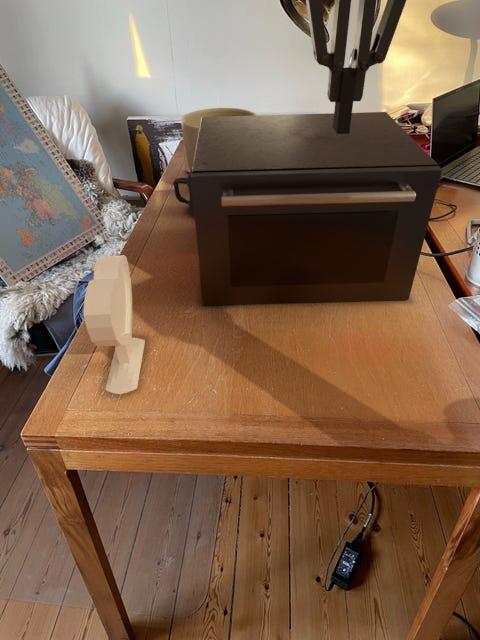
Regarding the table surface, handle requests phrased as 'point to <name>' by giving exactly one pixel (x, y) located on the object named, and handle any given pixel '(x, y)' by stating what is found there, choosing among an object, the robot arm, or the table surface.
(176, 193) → the mug
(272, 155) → the oven
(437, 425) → the table surface
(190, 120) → the planter
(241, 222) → the oven door
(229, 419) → the table surface
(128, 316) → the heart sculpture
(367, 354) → the table surface
